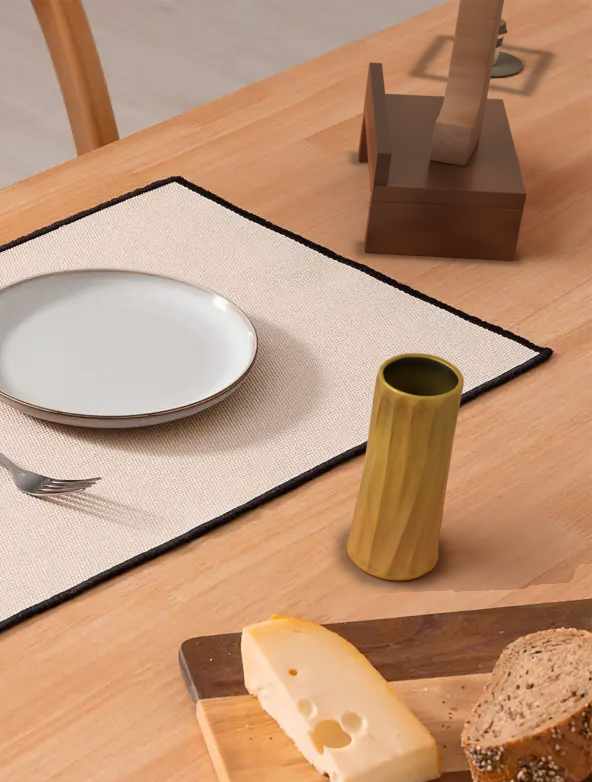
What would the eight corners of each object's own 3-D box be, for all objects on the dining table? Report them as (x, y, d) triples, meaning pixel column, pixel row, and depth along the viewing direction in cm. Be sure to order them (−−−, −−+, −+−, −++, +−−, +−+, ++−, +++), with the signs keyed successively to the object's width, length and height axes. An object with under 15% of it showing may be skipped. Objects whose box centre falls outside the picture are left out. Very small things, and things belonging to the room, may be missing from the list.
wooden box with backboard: (491, 162, 152) (508, 68, 146) (513, 261, 137) (533, 161, 131) (357, 155, 153) (369, 62, 147) (364, 252, 138) (377, 153, 132)
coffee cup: (549, 54, 174) (558, 10, 171) (526, 93, 165) (535, 48, 162) (443, 36, 178) (450, -7, 175) (416, 74, 169) (422, 29, 166)
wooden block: (444, 132, 142) (470, -33, 133) (480, 138, 141) (509, -27, 132) (428, 161, 137) (454, -8, 128) (465, 167, 136) (494, -2, 127)
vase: (330, 560, 104) (354, 382, 95) (370, 514, 108) (396, 338, 99) (414, 594, 101) (447, 413, 93) (452, 544, 105) (486, 367, 97)
